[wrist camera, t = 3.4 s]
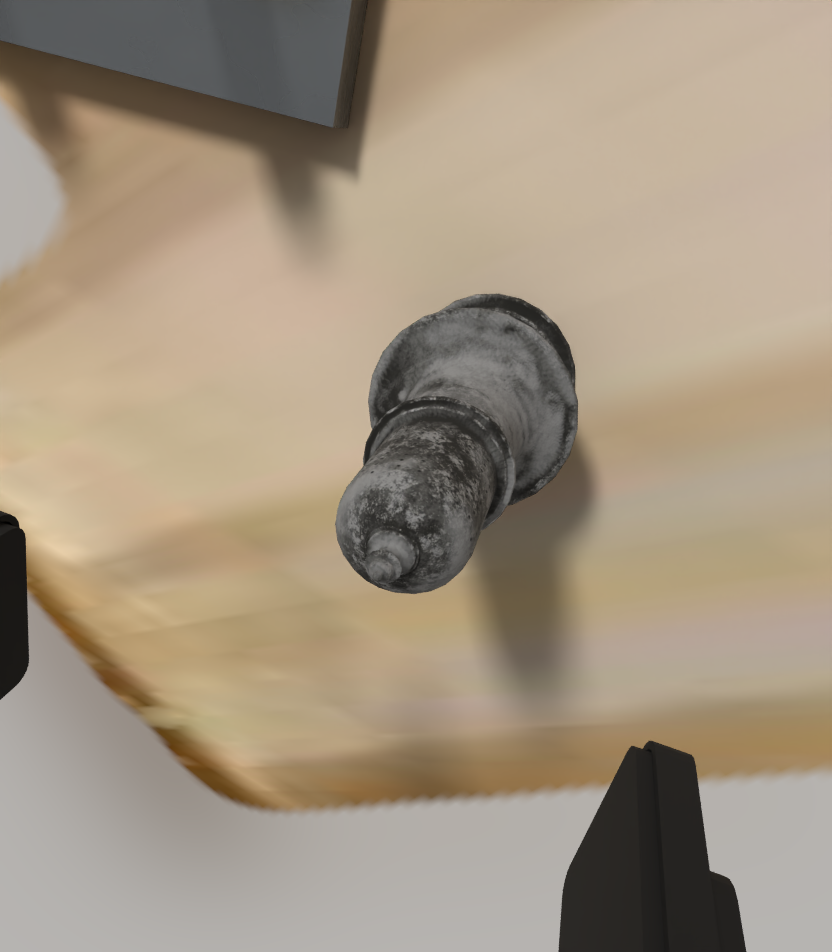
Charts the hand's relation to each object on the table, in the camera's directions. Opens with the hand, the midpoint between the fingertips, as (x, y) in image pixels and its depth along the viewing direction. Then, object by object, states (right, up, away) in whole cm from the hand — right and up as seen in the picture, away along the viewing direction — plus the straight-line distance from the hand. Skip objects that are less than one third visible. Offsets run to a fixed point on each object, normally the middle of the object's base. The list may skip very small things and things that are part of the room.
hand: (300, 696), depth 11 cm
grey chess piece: (+4, +6, +13) cm, 15 cm away
